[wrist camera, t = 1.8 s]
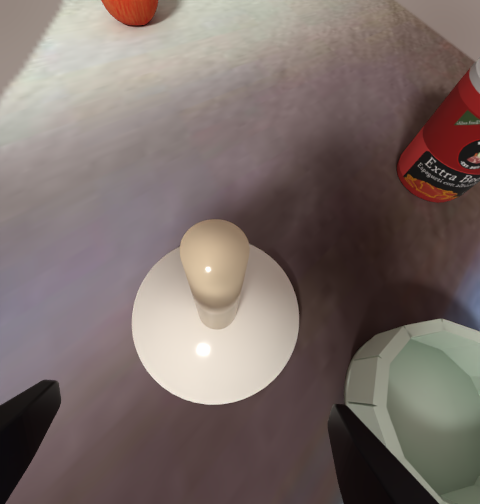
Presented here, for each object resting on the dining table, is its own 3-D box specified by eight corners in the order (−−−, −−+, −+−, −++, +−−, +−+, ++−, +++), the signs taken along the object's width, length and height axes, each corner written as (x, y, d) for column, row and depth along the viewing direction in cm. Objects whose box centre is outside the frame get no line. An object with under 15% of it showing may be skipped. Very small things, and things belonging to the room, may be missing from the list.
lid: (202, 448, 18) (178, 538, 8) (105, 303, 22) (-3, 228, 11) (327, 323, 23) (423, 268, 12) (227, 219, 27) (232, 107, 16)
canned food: (391, 192, 29) (478, 96, 20) (396, 143, 33) (473, 40, 23) (462, 214, 29) (590, 126, 19) (460, 161, 32) (567, 64, 22)
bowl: (442, 550, 17) (512, 602, 13) (313, 399, 20) (337, 402, 16) (516, 416, 21) (588, 423, 17) (397, 305, 24) (434, 289, 20)
